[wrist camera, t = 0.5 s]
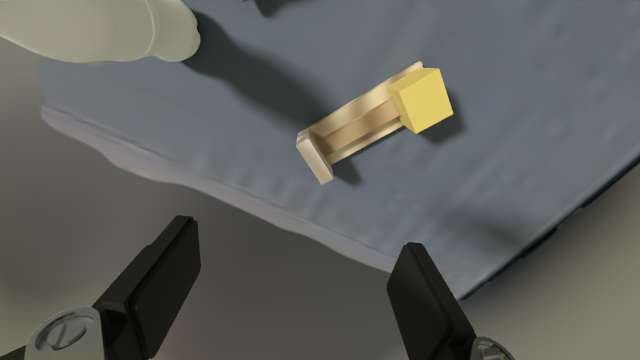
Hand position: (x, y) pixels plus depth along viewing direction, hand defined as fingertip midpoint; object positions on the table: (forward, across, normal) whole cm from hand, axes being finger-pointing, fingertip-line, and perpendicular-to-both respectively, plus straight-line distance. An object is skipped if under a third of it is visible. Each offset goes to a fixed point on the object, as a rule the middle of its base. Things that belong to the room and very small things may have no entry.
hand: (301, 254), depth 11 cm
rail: (+29, -9, -1) cm, 30 cm away
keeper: (+27, -14, -6) cm, 31 cm away
